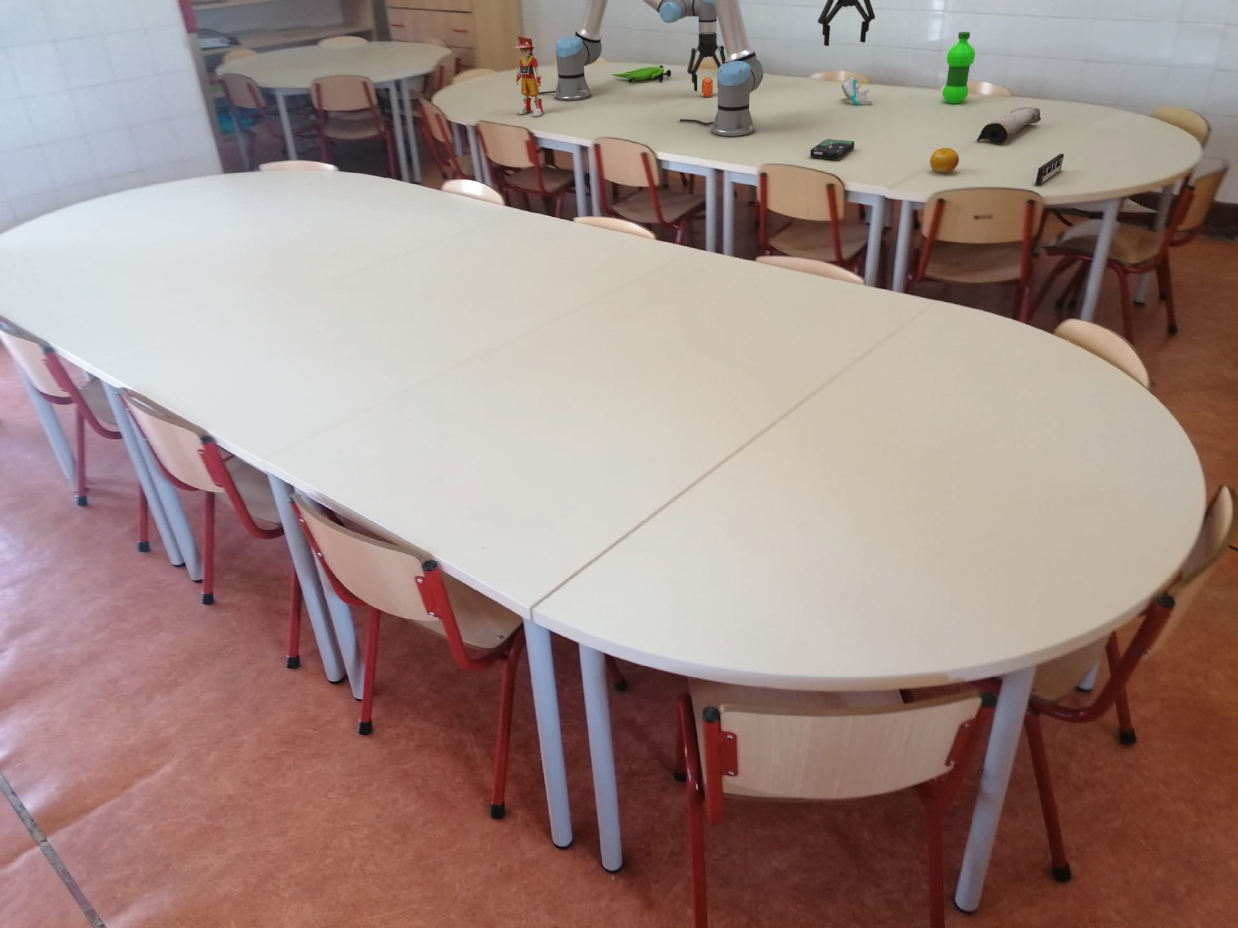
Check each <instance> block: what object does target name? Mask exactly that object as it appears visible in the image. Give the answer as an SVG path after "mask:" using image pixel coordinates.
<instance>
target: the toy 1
mask: <svg viewBox="0 0 1238 928" xmlns="http://www.w3.org/2000/svg"><path fill="white" fill-rule="evenodd" d="M516 37H517V39H518V41H515V44H517V45H516V46H514V48H516V49H519V51H520V55H521V56H522V57H520V58H519V59H520V60H519V63H518V66H519V69H518V72H516V79H515V81H516V82H515V83H516V85H517V86H519V81H520V79H521V81H520V83H521V84H520V85H521V91H520V92H521V95H523V96H524V97H525V98H523V99H522V101H523V103H524V105H525V106H524V107H521V108H519V111H518V114H519V115H524V114H528V113H530V112H532V105H531V103H532V99H533V98H534V101H533V103H534V105H535V106H536V109H535V110H533V115H532V116H533V117H539V116H541V115H542V114H543V113H544V109H543V104H542V103H543V101H542V98H539V95H540V94H539V92H540V89H539V88H540V87H542V83H541V79H542V77H543V76H542V75H541V74H540V73H539V68H538V67H539V63H538V60H537V59H536V57H534V54H533V51H534V48H535V46H533V40H532V38H531V37H530V38H527V37H524V36H518V35H517V36H516ZM532 97H533V98H532Z"/></svg>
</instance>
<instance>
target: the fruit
mask: <svg viewBox="0 0 1238 928" xmlns="http://www.w3.org/2000/svg"><path fill="white" fill-rule="evenodd" d="M959 163H960V156H959V154H958V152H957V151H956V150H955V149H953V148H951V147H942V148H938V149H936V150H934V151H933V153H932V154H931V155H930V159H929V166H930V168H931V169H932V170H933V171H934V172H936V173H939V174H940V173H943V174H944V173H945V174H946V173H951V172H953V171H954V170H956V168H957V167H958V165H959Z"/></svg>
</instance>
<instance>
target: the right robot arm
mask: <svg viewBox="0 0 1238 928" xmlns="http://www.w3.org/2000/svg"><path fill="white" fill-rule="evenodd" d="M862 1H863V3H864V7H865V9H866V10H865V9H864V7H863V6H862V4H861V2H860V1H859V0H837V1H836V3H835V4H834V2H835V0H827V1H826V3H825V5H824V7H823V9H822V11H821V13H820V15H819V18H818V19H817V23H818V24H820V25H822V31H821V32H822V33H821V34H822V36H823V37H824V38H823V46H826V47H829V46H830V35H831V25H830V23H831V21H832V20H833V19H834V18H835V17H836V15H837V14H838V12H839V11H840V10H841V9H843V7H844V8H848V7H855V9H856V10H857V12H858V13H859V14H860V16H861V18H862V19H863V20H862V21H861V28H860V37H859V38H860V39H859V42H860V43H863V44H865V43H866V39H867V32H869V31H870V29H869V28H870V23H871V21H873V20H875V19H876V15H875V11H874V8H873V6H872V3H871V0H862ZM713 2H714V6H715V10H716V14H717V22H718V24H719V28H720V33H721V36H722V40H723V44H724V49H725V52H726V56H725V64H721V66H720V68H719V69H718V70H717V85H718V88H717V111H716V114H715V118H714V120H713V121H710V122H704V121H702V120H698V119H689V118H686V119H685V118H680V119H679V121H680V122H691V123H698V124H701V125H704V126H709V125H712V133H713V134H715V135H717V136H721V137H741V136H746V135H750V134H752V133H754V127H755V126H754V122H753V118H752V115H751V111H750V94H751V93H752V92H754V91H756V90H757V89H758V87H760V85H761V83H762V82H763V79H764V75H765V74H764V72H765V71H764V67H763V64H762V62H761V61H760V60H759V59H758V58H757V54H756V50H755V49H753V48H751V46H750V44H749V43H750V42H749V38H748V34H747V30H746V27H745V22H744V19H743V15H742V10H741V7H740V3H739V0H713ZM833 4H834V7H833Z"/></svg>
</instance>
